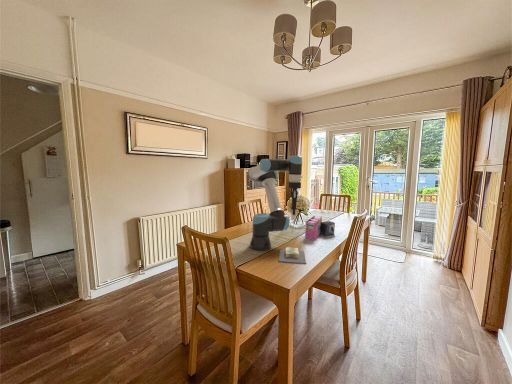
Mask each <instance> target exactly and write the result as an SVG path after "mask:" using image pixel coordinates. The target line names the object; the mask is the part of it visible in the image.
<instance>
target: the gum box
mask: <svg viewBox="0 0 512 384" xmlns="http://www.w3.org/2000/svg"><path fill="white" fill-rule="evenodd" d="M321 222H323V217H322V216H320V217H318V216H311V217H310V218H309V219H308V220H306V221H305V231H304V234H305V235H304V237H305V238H304V239H310V240H314V241H315V240H316V239H317V238H318V237H319V236H320V235H321V234H320V228H321Z"/></svg>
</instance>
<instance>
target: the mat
mask: <svg viewBox="0 0 512 384" xmlns="http://www.w3.org/2000/svg"><path fill="white" fill-rule="evenodd" d="M298 252H299V258H293V257H286V249H279V255H278V262H279V263H290V264H299V265H300V264H301V265H307V261H306V255H305V251H304V250H298Z"/></svg>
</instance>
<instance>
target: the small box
mask: <svg viewBox="0 0 512 384" xmlns="http://www.w3.org/2000/svg"><path fill="white" fill-rule="evenodd" d="M335 225H336V223H335V222H333V221H331V220H329V221H327V220H326V221H322V222H321V228H320V234H319V235H321V236H324V237H328V236H333V235H335Z"/></svg>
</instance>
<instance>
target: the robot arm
mask: <svg viewBox="0 0 512 384" xmlns="http://www.w3.org/2000/svg"><path fill="white" fill-rule="evenodd" d="M302 171H303V157H302V156H301V155H290V156H289V158H288V159H284V158H283V159H281V158H279V159H277V158H276V159H273V158H262V159H260V161H259V164H258V165H256V166H252V167H250V168H249V169H248V170H247V174H246V175H247V178H248V179H249V180H250V181H252V182H257V183H258V182H259V183H261V185H262V186H263V187H264V191H265V196H266V200H267V204H268V209H269V213H266V212H264V213H262V212H261V213H257V214H254V216H253V217H252V223H251V224H252V236H251V239H250V242H249V248H250V249H251V250H254V251H268V250H270V249H271V248H272V242H271V240H270V232H271V233H272V232H273V233H274V232H282V231H287V230H288V229H289V227H290V223H291V222H290V220H291V221H296V219H297V210H298V207H297V200H298V194H299V191H298V190H297V189H301V188H302V179H303V176H302V173H303V172H302ZM278 172H288V186H287V188H289V189H292V190H291V191H290V194H291V208H290V210H291V211H290V212H291V217H290V215H288V214H287V213H285V210H284V209H282V206H281V202H280V199H279V198H280V197H279V194H278V191H277V187H276V182H277V180H278ZM290 218H291V219H290Z"/></svg>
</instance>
